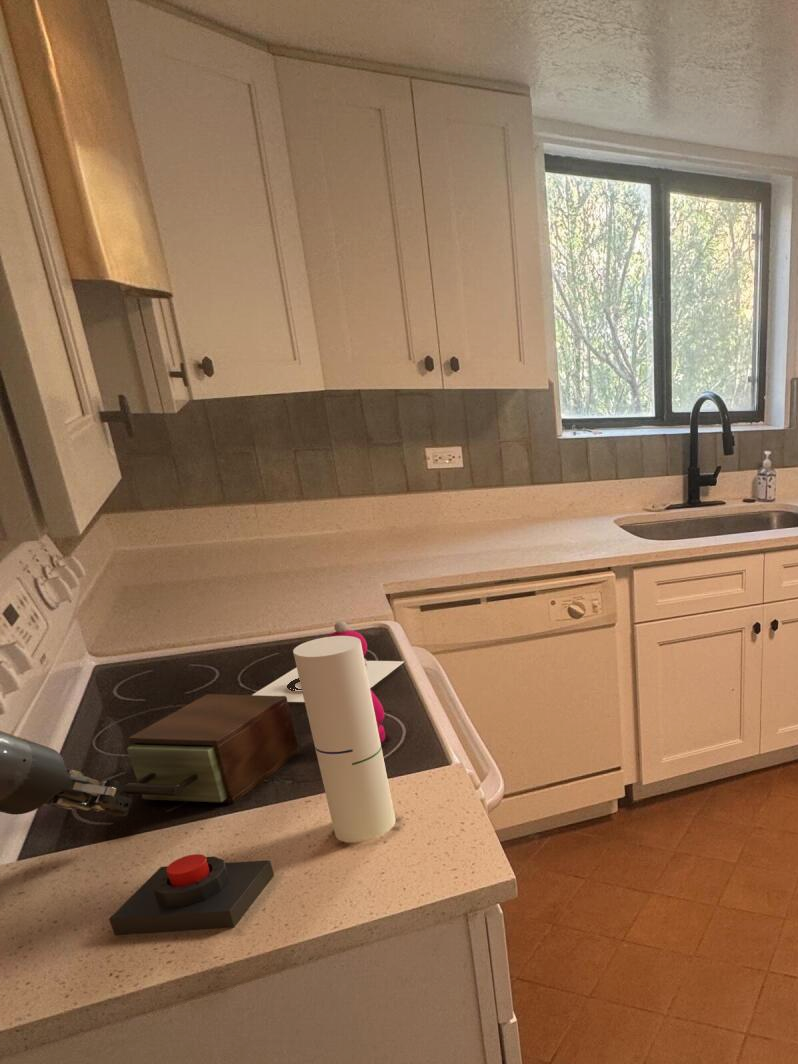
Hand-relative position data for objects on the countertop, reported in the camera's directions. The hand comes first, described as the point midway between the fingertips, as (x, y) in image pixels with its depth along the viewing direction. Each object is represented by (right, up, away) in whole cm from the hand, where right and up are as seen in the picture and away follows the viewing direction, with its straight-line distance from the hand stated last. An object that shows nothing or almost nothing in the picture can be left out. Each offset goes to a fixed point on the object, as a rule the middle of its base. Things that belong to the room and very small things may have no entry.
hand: (124, 807), depth 97 cm
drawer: (+1, +1, +13) cm, 13 cm away
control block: (+16, -9, -10) cm, 21 cm away
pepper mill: (+16, +5, +27) cm, 32 cm away
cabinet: (+1, +1, +17) cm, 17 cm away
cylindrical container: (+28, -4, +4) cm, 28 cm away
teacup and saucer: (-2, +14, +51) cm, 53 cm away
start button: (+16, -5, -11) cm, 20 cm away
